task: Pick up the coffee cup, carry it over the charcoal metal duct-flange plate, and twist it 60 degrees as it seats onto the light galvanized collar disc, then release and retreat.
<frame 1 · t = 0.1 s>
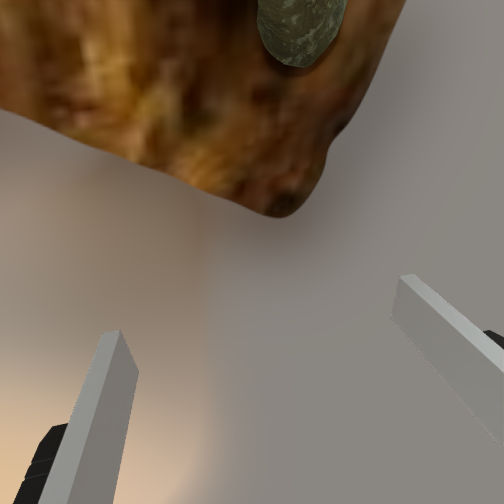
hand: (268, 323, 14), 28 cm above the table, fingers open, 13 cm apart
seashell: (290, 4, 30), on the table, touching duct flange
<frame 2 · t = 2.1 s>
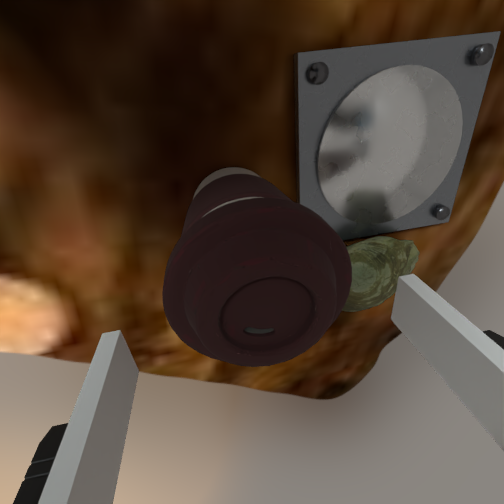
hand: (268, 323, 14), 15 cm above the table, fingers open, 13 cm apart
duct flange: (381, 151, 26), on the table
seashell: (360, 267, 32), on the table, touching duct flange
coffee cup: (232, 205, 27), on the table
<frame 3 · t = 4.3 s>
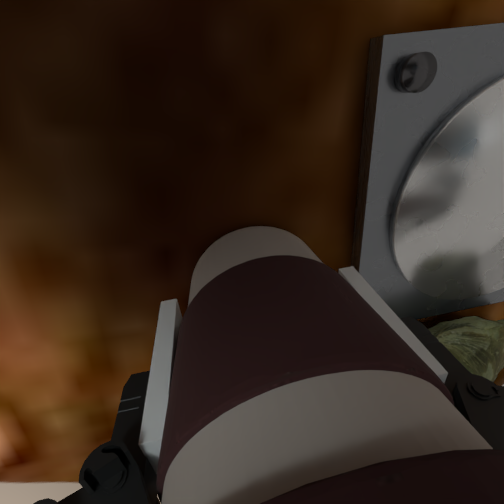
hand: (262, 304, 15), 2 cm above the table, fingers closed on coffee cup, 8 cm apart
duct flange: (484, 194, 17), on the table
seashell: (428, 346, 23), on the table, touching duct flange
coffee cup: (253, 277, 17), on the table, touching gripper
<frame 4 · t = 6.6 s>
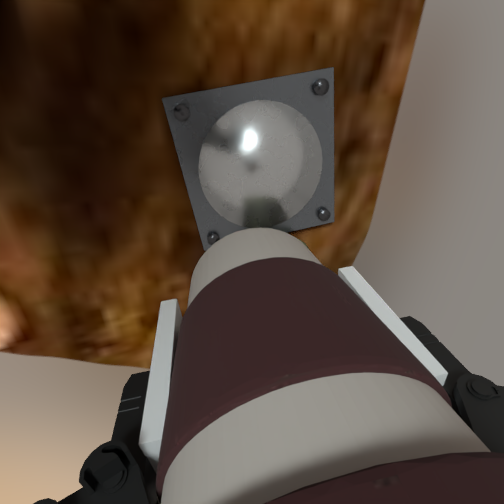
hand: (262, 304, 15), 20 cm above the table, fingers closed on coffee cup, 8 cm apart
duct flange: (259, 167, 31), on the table
coffee cup: (253, 278, 17), point 17 cm above the table, touching gripper
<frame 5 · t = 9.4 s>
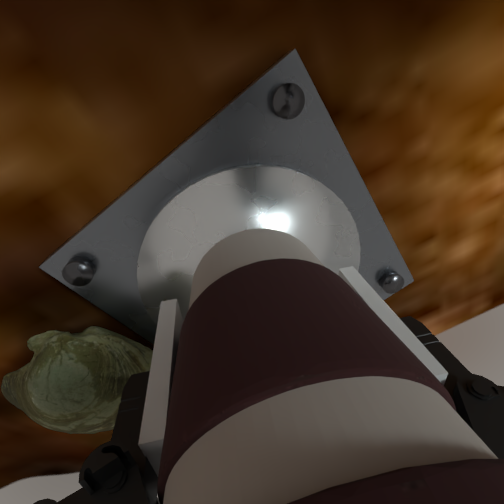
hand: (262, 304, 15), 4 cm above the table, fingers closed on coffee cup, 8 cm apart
duct flange: (250, 266, 18), on the table
seashell: (99, 363, 20), on the table, touching duct flange
coffee cup: (254, 279, 17), point 1 cm above the table, touching duct flange, gripper
when the fingers open (4 cm above the table, at t = 9.9 s): coffee cup stays where it is, resting on duct flange.
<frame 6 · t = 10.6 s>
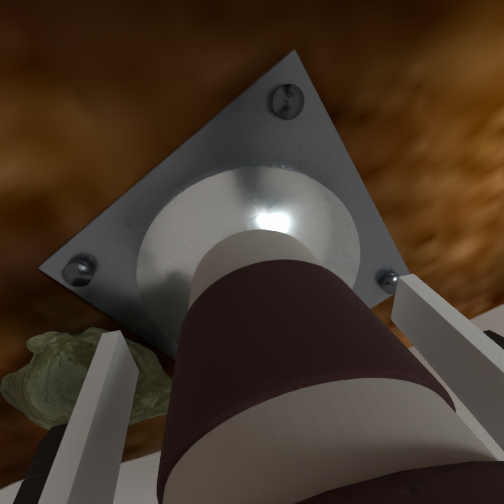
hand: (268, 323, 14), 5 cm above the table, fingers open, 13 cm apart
duct flange: (250, 266, 18), on the table
seashell: (99, 363, 20), on the table, touching duct flange
coffee cup: (254, 280, 17), point 1 cm above the table, touching duct flange
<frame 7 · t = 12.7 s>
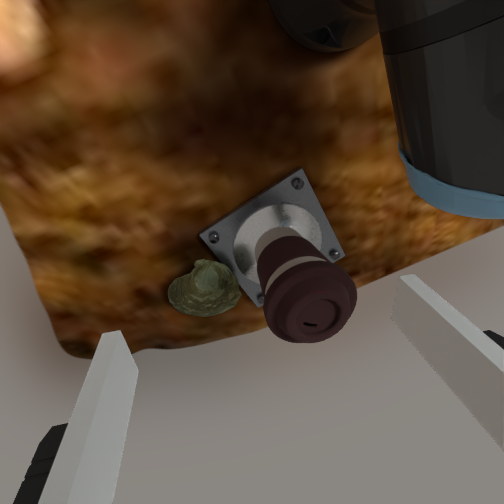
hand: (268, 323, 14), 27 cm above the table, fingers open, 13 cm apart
duct flange: (275, 243, 43), on the table
seashell: (203, 283, 44), on the table, touching duct flange
coffee cup: (278, 247, 42), point 1 cm above the table, touching duct flange
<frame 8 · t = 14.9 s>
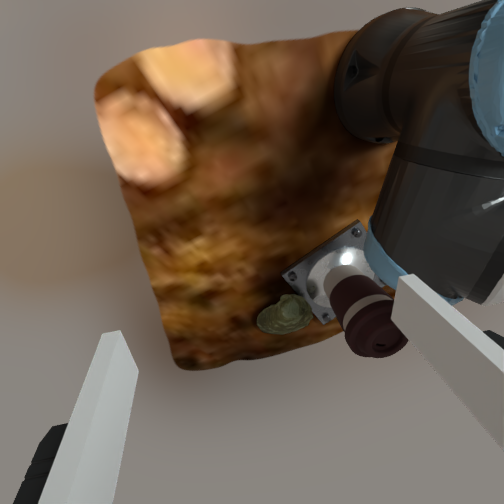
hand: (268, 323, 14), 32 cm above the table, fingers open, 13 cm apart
duct flange: (337, 275, 54), on the table
seashell: (281, 309, 56), on the table, touching duct flange
coffee cup: (340, 279, 53), point 1 cm above the table, touching duct flange
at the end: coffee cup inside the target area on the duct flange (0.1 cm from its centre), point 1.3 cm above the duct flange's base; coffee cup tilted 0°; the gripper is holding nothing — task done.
